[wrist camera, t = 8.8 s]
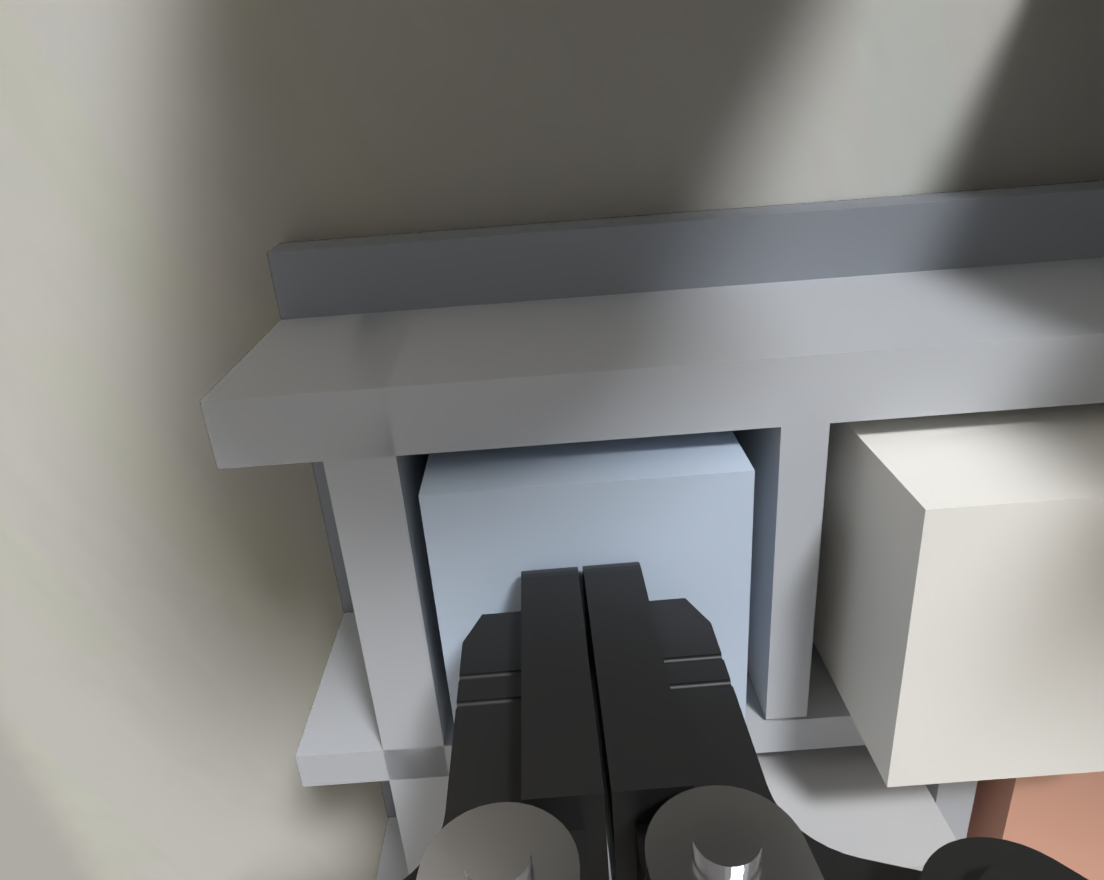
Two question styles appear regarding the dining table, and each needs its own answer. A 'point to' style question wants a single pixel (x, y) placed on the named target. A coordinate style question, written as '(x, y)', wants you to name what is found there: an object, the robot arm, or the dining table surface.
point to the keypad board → (638, 409)
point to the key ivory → (967, 591)
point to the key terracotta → (1046, 817)
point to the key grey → (855, 805)
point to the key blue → (593, 528)
